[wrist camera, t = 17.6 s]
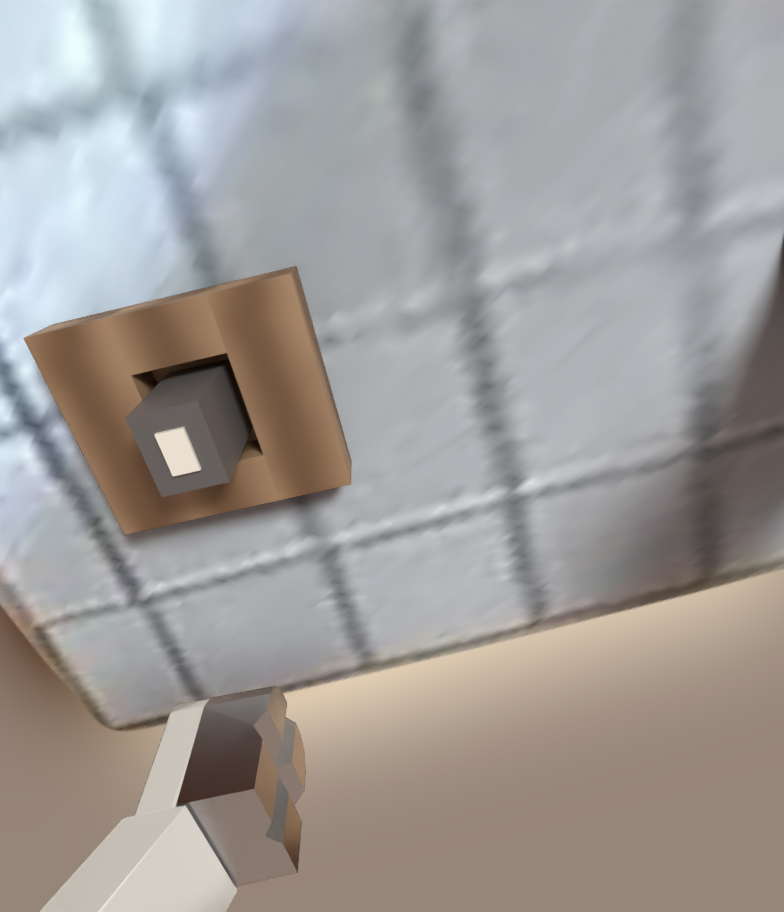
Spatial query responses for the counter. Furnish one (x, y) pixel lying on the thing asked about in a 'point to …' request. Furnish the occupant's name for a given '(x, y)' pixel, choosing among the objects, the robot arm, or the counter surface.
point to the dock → (188, 345)
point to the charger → (192, 428)
